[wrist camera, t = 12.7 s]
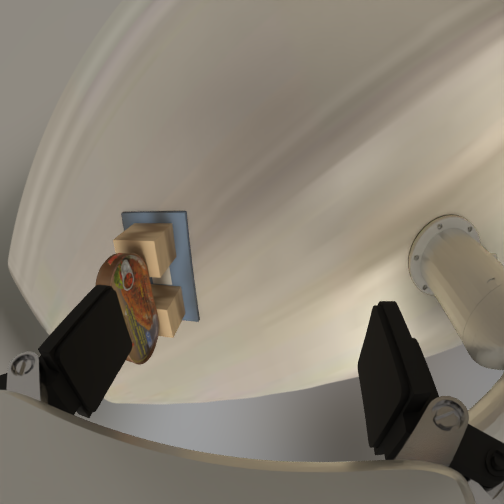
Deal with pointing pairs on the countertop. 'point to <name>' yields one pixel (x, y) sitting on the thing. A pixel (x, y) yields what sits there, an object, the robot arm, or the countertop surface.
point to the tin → (133, 301)
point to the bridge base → (182, 251)
